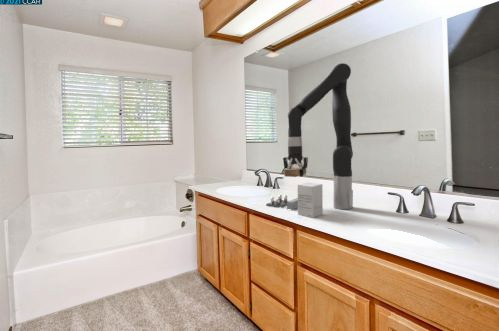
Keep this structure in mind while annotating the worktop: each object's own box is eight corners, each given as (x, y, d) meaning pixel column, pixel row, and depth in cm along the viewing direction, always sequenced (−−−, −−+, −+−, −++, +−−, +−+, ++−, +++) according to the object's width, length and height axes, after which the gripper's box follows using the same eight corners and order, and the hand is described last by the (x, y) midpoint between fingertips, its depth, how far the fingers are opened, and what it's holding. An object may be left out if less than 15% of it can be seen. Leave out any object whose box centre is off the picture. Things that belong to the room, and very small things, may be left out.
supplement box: (307, 211, 141) (307, 182, 140) (323, 214, 135) (323, 184, 134) (297, 214, 135) (297, 184, 134) (312, 217, 129) (312, 186, 128)
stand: (298, 204, 158) (298, 197, 157) (303, 205, 156) (303, 198, 156) (286, 209, 146) (286, 201, 146) (292, 210, 144) (292, 202, 144)
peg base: (291, 203, 162) (291, 195, 161) (280, 207, 150) (280, 199, 150) (278, 201, 167) (278, 194, 167) (266, 205, 156) (266, 197, 155)
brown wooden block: (296, 173, 157) (295, 167, 157) (306, 174, 154) (306, 167, 153) (284, 176, 146) (284, 169, 145) (295, 176, 142) (295, 170, 142)
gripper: (310, 145, 147) (310, 176, 149) (286, 145, 156) (287, 175, 157) (304, 145, 141) (305, 177, 142) (279, 146, 150) (280, 176, 151)
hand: (295, 176), depth 150 cm, fingers closed on brown wooden block, 6 cm apart
